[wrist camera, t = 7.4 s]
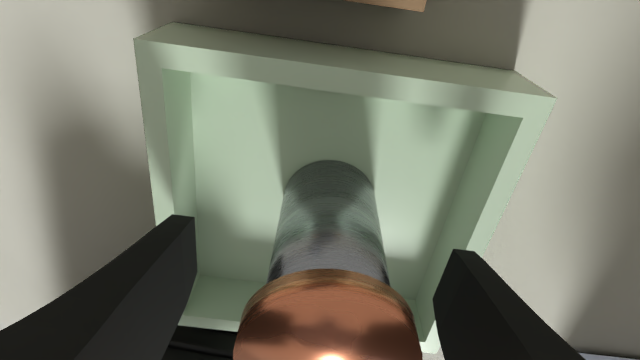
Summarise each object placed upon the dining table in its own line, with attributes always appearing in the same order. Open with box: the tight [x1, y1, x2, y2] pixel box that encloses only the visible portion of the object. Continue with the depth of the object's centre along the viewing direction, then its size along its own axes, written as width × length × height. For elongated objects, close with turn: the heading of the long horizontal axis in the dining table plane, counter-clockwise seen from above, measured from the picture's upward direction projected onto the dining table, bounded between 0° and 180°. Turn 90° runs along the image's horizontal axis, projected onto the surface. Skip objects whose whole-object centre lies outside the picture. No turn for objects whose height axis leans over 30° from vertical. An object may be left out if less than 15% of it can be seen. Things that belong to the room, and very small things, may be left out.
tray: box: [133, 22, 557, 354], centre depth 13 cm, size 10×10×2 cm
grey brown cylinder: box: [233, 160, 422, 360], centre depth 11 cm, size 4×4×6 cm
